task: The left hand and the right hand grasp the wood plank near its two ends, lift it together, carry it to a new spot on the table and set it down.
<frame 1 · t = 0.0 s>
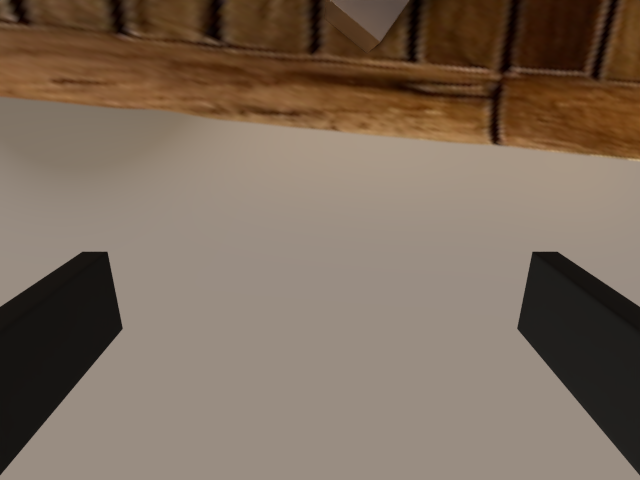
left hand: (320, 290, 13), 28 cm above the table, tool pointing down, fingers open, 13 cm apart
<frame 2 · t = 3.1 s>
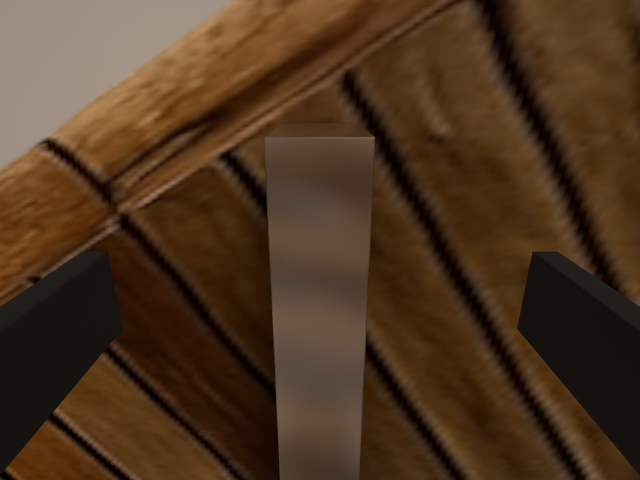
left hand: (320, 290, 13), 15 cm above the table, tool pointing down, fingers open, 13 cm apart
plank: (319, 417, 33), on the table, touching right hand
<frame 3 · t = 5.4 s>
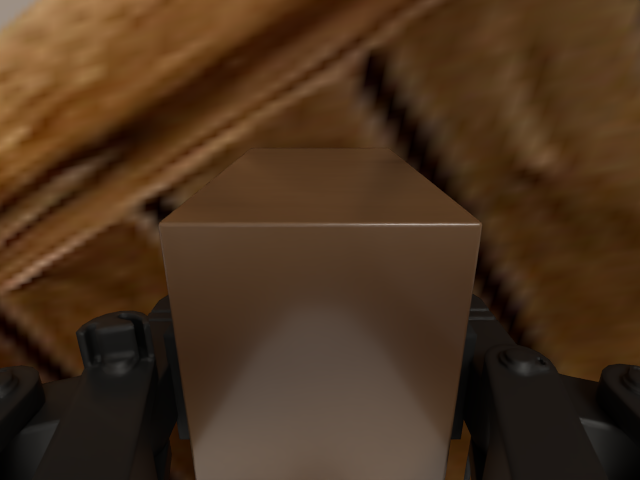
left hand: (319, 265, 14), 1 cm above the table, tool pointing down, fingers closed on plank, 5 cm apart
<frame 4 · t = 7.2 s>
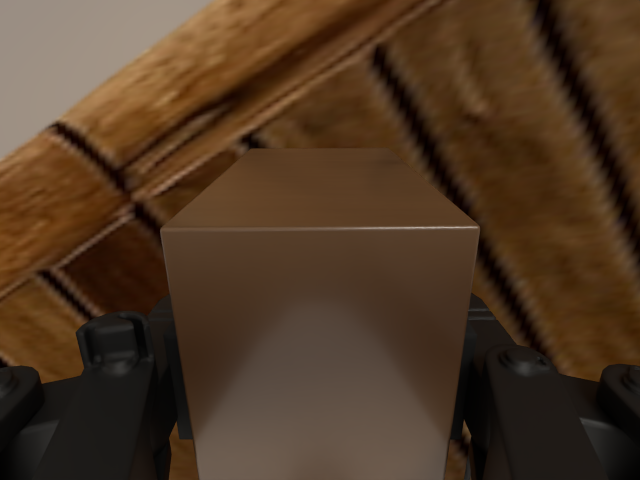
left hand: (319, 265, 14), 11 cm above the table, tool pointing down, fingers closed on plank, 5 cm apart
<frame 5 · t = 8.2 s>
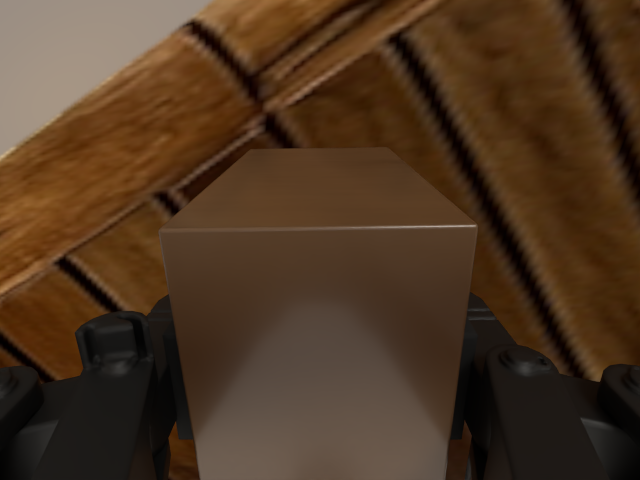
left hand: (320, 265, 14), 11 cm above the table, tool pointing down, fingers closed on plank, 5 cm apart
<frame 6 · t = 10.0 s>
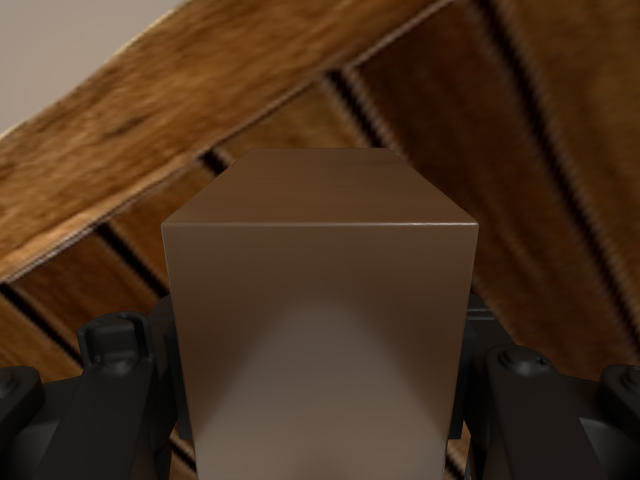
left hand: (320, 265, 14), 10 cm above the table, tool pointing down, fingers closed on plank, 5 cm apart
when the left hand's fingers open (2 cm above the table, at t = 11.2 s): plank drops 1 cm, on the table.
when the right hand's fingers open (2 cm above the table, at t = 11.2 s): plank drops 1 cm, on the table.
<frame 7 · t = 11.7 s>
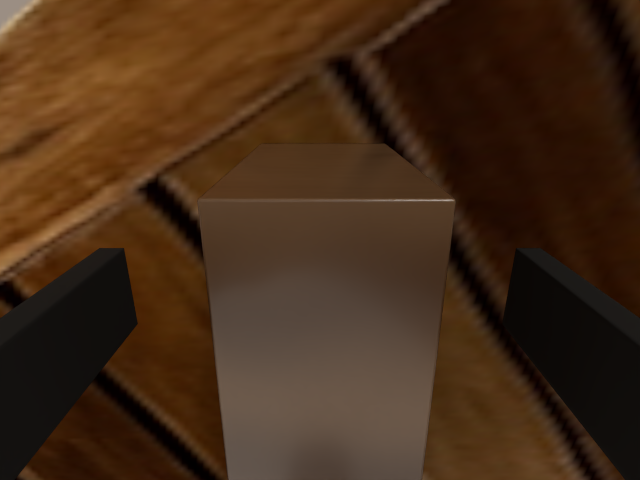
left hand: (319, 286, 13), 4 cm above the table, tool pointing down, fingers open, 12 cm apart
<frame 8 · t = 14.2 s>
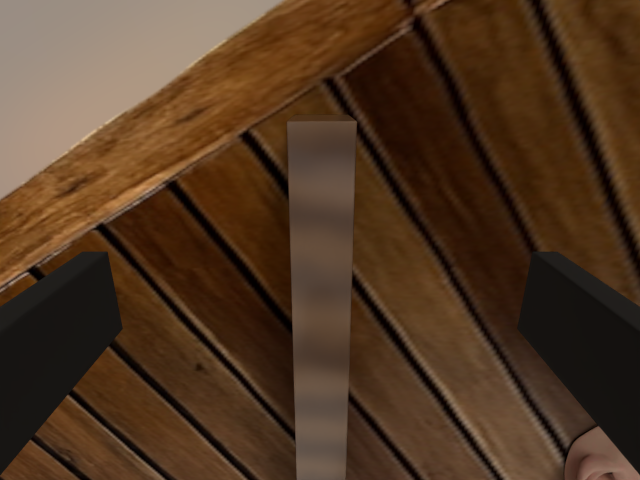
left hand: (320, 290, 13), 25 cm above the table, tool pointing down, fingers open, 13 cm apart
anatomical model: (606, 459, 49), on the table
plank: (321, 341, 43), on the table
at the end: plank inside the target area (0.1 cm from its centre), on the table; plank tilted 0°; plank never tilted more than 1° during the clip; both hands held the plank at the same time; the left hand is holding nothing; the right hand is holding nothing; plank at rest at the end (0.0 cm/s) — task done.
